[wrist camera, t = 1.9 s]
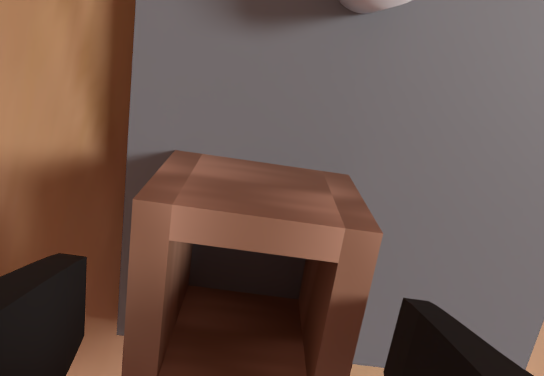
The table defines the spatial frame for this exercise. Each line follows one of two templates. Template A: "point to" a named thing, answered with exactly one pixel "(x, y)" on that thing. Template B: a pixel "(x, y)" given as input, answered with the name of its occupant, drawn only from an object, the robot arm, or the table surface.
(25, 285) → the robot arm
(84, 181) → the table surface
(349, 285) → the hollow square block
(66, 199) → the table surface
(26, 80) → the table surface
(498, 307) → the pin plate
